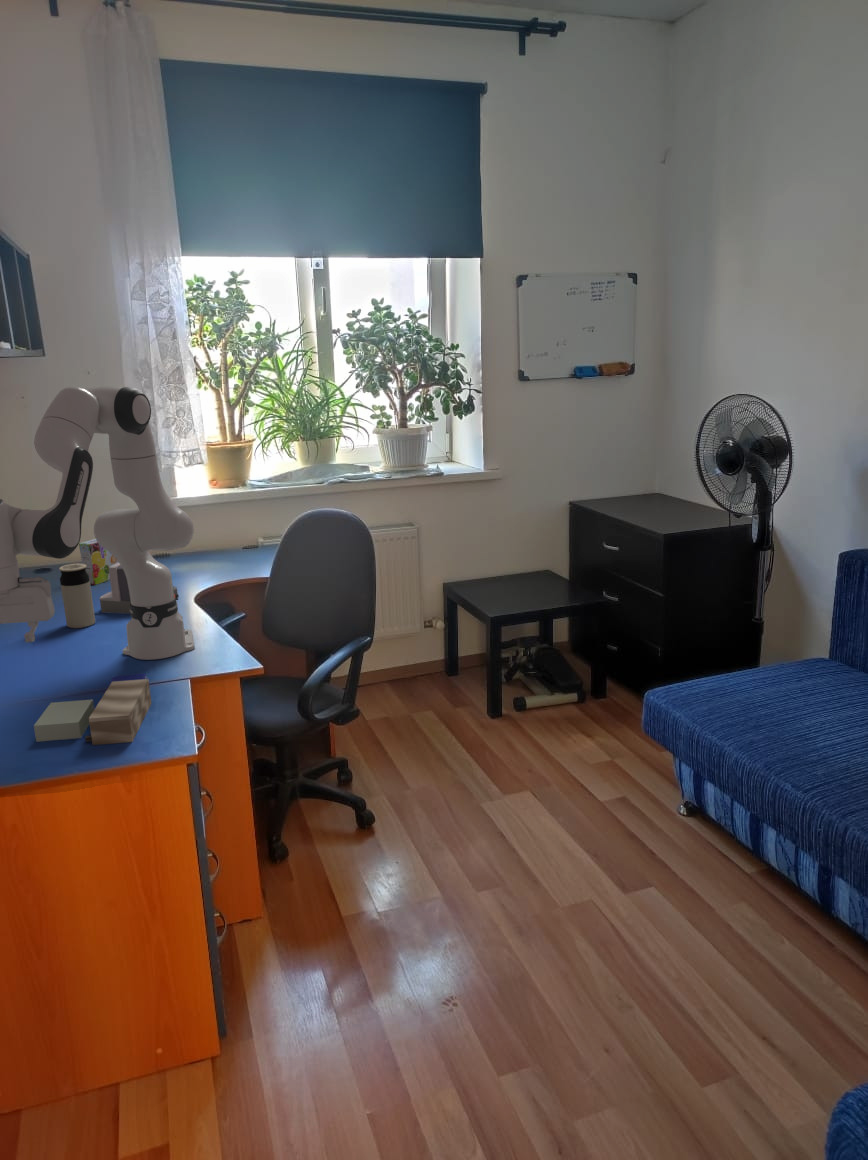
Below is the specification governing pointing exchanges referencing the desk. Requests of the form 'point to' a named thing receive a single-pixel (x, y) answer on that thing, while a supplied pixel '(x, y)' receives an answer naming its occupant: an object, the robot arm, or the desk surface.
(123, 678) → the hard drive
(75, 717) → the case
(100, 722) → the low shelf
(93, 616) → the travel mug
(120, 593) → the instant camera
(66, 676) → the desk surface
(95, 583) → the snack box
